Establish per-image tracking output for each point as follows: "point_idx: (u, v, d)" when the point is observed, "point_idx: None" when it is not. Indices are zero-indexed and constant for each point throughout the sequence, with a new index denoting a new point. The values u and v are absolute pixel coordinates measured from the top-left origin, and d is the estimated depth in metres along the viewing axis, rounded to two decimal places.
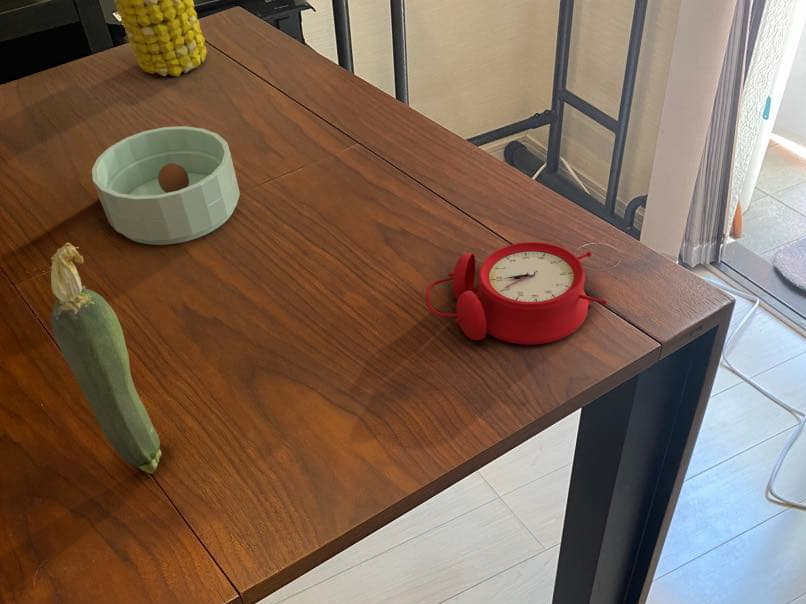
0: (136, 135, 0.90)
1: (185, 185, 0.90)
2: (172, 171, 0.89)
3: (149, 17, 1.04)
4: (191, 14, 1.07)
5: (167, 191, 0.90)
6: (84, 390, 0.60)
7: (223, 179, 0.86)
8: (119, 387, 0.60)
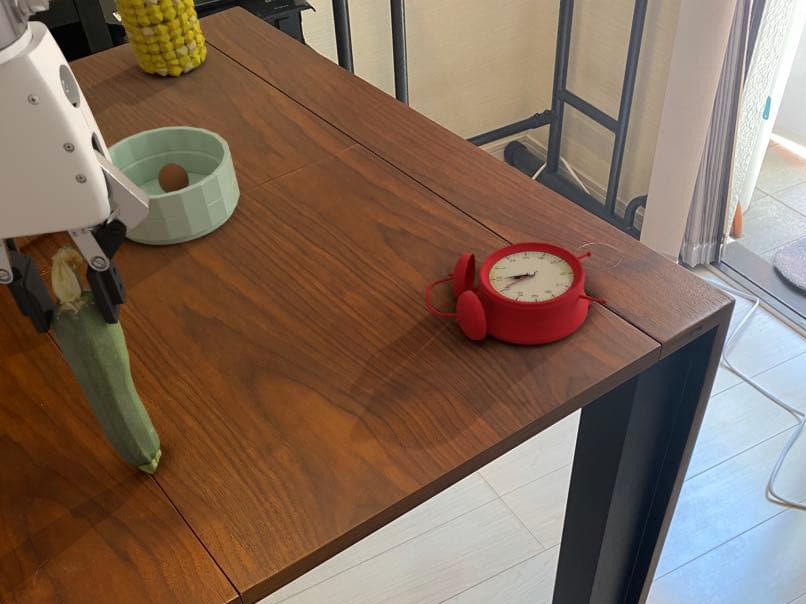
0: (136, 135, 0.90)
1: (185, 185, 0.90)
2: (172, 171, 0.89)
3: (149, 17, 1.04)
4: (191, 14, 1.07)
5: (167, 191, 0.90)
6: (84, 390, 0.60)
7: (223, 179, 0.86)
8: (119, 387, 0.60)
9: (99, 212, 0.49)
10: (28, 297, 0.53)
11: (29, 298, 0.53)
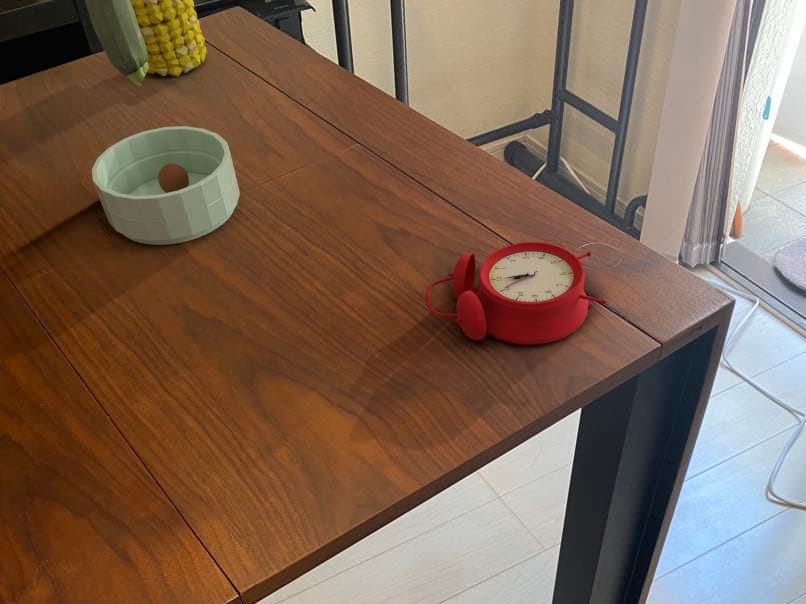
0: (136, 135, 0.90)
1: (185, 185, 0.90)
2: (172, 171, 0.89)
3: (149, 17, 1.04)
4: (191, 14, 1.07)
5: (167, 191, 0.90)
6: None
7: (223, 179, 0.86)
8: None
9: None
10: None
11: None
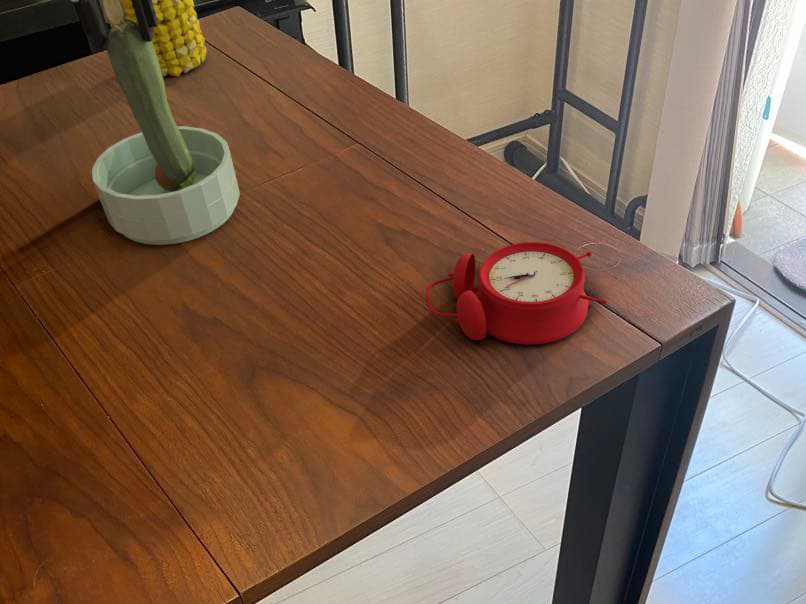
0: (136, 135, 0.90)
1: None
2: None
3: None
4: (191, 14, 1.07)
5: (161, 180, 0.90)
6: (134, 108, 0.83)
7: (223, 179, 0.86)
8: (158, 103, 0.83)
9: None
10: (90, 14, 0.76)
11: (91, 15, 0.76)
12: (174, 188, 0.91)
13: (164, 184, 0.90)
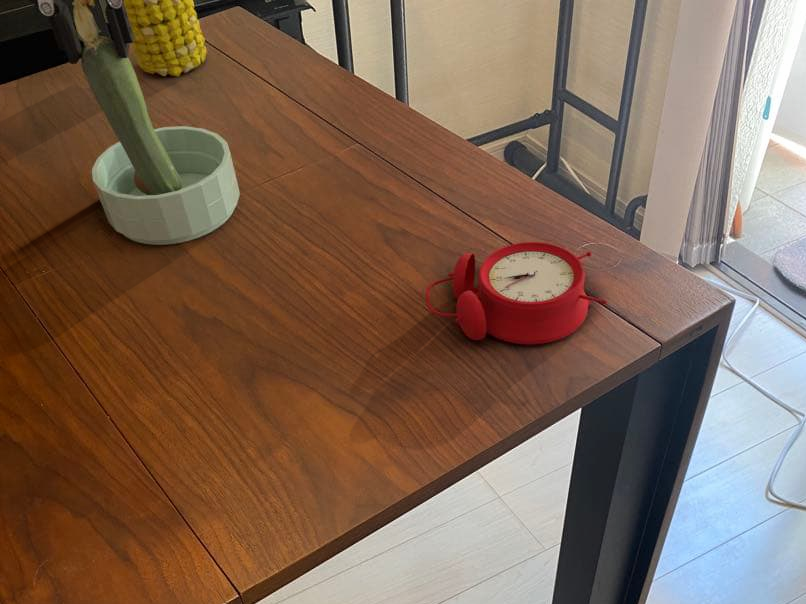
0: None
1: None
2: (134, 179, 0.90)
3: (149, 17, 1.04)
4: (191, 14, 1.07)
5: (149, 192, 0.90)
6: (114, 127, 0.80)
7: (223, 179, 0.86)
8: (139, 121, 0.80)
9: None
10: (64, 29, 0.73)
11: (65, 30, 0.73)
12: None
13: None
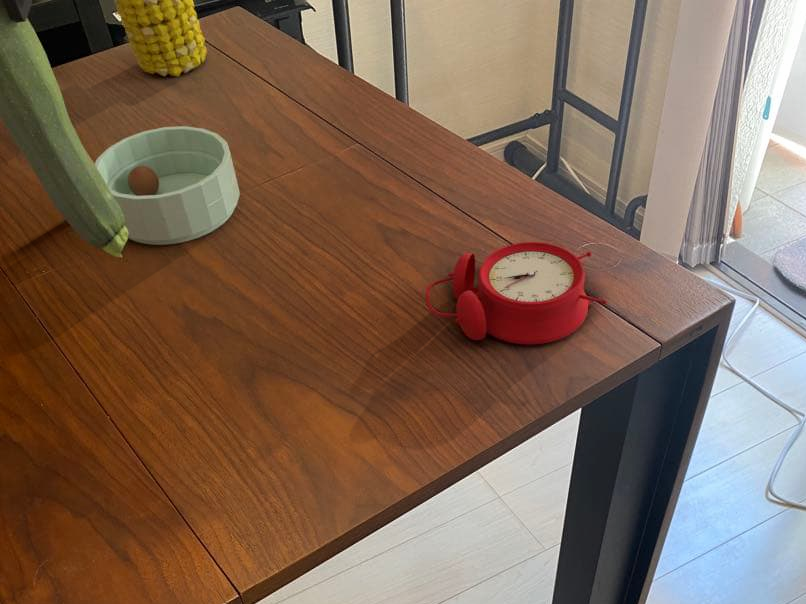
0: (136, 135, 0.90)
1: (133, 184, 0.89)
2: None
3: (149, 17, 1.04)
4: (191, 14, 1.07)
5: None
6: (13, 134, 0.51)
7: (223, 179, 0.86)
8: (51, 124, 0.51)
9: None
10: None
11: None
12: (151, 186, 0.89)
13: None
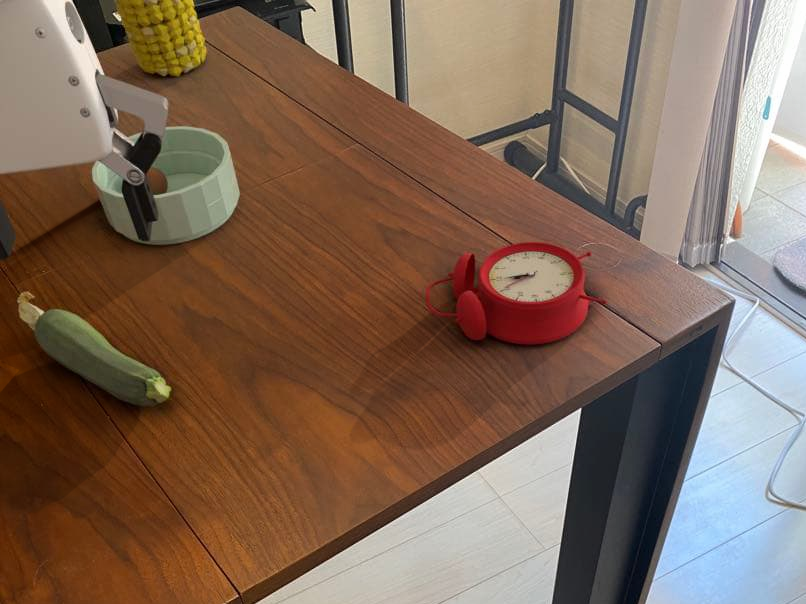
0: (136, 135, 0.90)
1: None
2: None
3: (149, 17, 1.04)
4: (191, 14, 1.07)
5: None
6: (78, 370, 0.73)
7: (223, 179, 0.86)
8: (91, 345, 0.72)
9: (102, 147, 0.52)
10: None
11: None
12: None
13: None
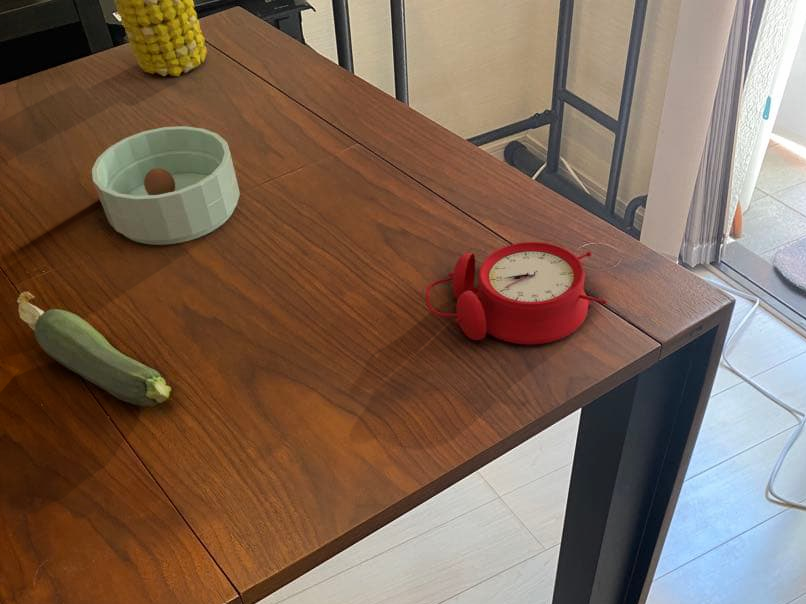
0: (136, 135, 0.90)
1: (155, 189, 0.88)
2: (146, 175, 0.89)
3: (149, 17, 1.04)
4: (191, 14, 1.07)
5: None
6: (78, 370, 0.73)
7: (223, 179, 0.86)
8: (91, 345, 0.72)
9: None
10: None
11: None
12: None
13: None
